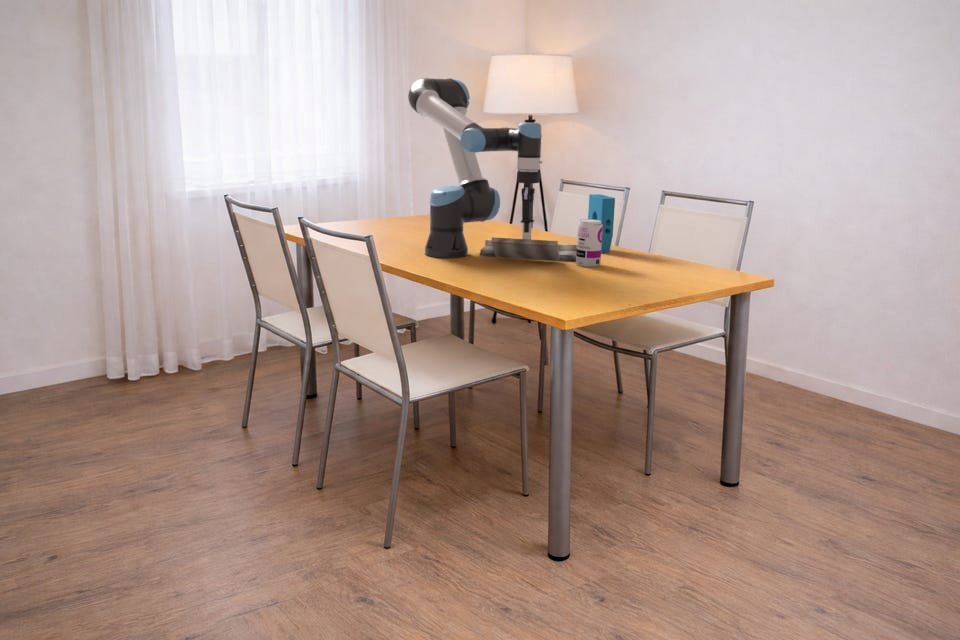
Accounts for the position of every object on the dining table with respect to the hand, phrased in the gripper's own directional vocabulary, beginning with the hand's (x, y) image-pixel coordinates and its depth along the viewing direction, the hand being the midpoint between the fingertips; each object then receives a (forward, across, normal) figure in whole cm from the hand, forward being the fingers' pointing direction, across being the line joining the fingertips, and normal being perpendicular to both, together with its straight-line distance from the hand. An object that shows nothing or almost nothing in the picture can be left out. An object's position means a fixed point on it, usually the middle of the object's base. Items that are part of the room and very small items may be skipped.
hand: (526, 241), depth 289 cm
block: (+7, +32, -23) cm, 40 cm away
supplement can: (+8, +4, -21) cm, 22 cm away
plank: (+3, +1, 0) cm, 4 cm away
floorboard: (+7, +14, -1) cm, 16 cm away
